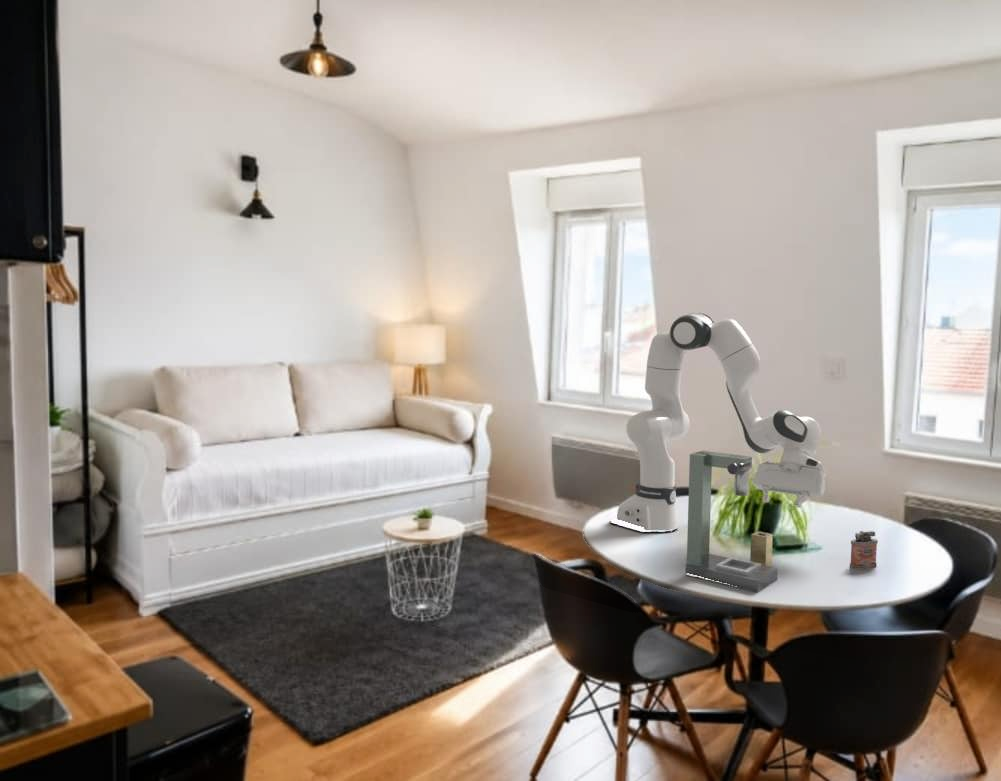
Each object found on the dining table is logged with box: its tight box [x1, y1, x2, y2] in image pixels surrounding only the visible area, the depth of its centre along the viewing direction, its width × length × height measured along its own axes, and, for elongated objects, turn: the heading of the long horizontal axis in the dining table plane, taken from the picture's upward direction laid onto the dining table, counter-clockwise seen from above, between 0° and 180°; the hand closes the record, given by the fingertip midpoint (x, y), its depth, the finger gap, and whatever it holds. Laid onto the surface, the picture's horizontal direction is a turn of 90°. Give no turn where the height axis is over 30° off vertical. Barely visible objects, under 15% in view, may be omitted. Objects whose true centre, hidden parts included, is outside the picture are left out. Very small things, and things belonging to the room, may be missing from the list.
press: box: [685, 450, 779, 593], centre depth 212 cm, size 20×18×33 cm
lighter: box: [849, 530, 879, 570], centre depth 225 cm, size 8×3×10 cm, turn 106°
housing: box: [749, 530, 774, 567], centre depth 225 cm, size 4×4×9 cm
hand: (780, 503), depth 234 cm, fingers open, 8 cm apart
